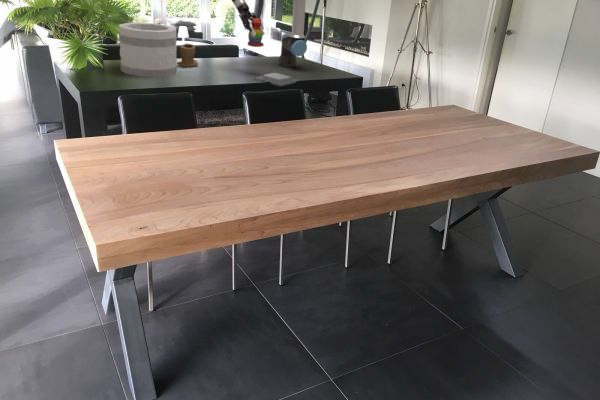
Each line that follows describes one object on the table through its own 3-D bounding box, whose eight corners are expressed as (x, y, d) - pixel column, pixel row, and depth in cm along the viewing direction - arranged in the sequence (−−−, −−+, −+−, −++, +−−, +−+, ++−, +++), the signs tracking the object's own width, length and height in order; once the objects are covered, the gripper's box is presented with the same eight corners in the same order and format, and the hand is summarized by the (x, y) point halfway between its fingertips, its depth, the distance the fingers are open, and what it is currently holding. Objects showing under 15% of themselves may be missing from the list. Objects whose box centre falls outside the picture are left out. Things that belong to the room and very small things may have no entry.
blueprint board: (272, 75, 350) (273, 70, 348) (299, 81, 340) (299, 77, 339) (253, 79, 333) (254, 74, 331) (280, 86, 323) (281, 81, 321)
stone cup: (184, 68, 341) (183, 46, 334) (174, 65, 348) (174, 43, 342) (202, 67, 351) (203, 45, 344) (193, 63, 358) (193, 42, 352)
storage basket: (164, 64, 347) (163, 23, 335) (185, 76, 323) (185, 31, 311) (113, 66, 328) (110, 22, 316) (132, 78, 303) (129, 31, 291)
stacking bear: (264, 45, 343) (265, 18, 335) (261, 47, 334) (263, 19, 326) (248, 43, 344) (250, 16, 336) (245, 45, 335) (247, 17, 327)
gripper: (248, 9, 345) (265, 37, 345) (227, 10, 328) (245, 39, 328) (255, 2, 340) (272, 30, 340) (234, 3, 324) (252, 32, 323)
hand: (259, 35), depth 334 cm, fingers closed on stacking bear, 9 cm apart
